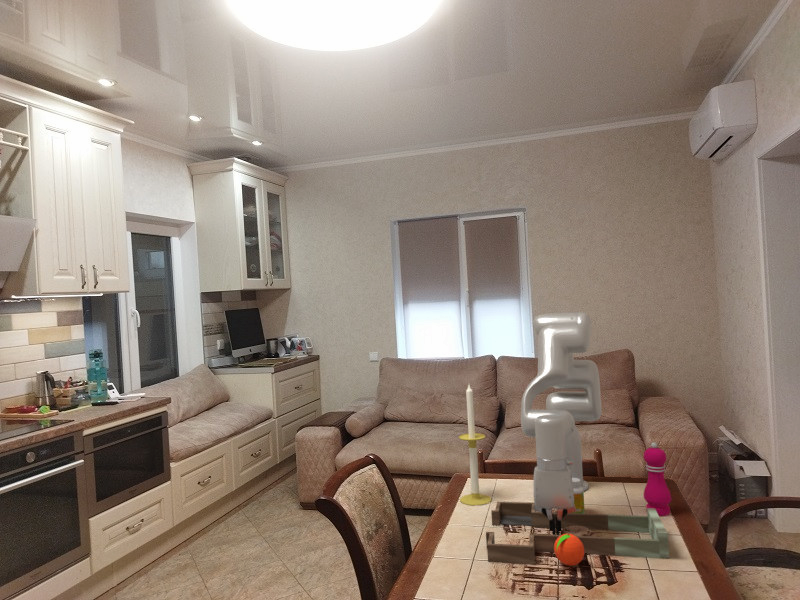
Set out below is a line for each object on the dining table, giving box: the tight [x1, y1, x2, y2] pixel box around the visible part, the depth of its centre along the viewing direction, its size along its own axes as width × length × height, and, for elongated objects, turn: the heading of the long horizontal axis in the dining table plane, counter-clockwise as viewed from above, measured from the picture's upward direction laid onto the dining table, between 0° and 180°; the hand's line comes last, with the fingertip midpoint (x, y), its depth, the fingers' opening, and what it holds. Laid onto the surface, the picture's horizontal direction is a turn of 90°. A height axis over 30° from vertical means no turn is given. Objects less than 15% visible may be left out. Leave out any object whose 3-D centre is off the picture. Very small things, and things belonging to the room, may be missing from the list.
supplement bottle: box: [572, 478, 586, 514], centre depth 164 cm, size 5×5×10 cm
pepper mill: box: [643, 441, 672, 517], centre depth 161 cm, size 7×7×20 cm
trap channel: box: [485, 501, 670, 565], centre depth 146 cm, size 30×43×6 cm
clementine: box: [553, 534, 585, 567], centre depth 133 cm, size 8×7×7 cm
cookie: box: [559, 526, 601, 537], centre depth 145 cm, size 10×11×3 cm
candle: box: [458, 384, 492, 507], centre depth 179 cm, size 10×10×38 cm
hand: (555, 533), depth 147 cm, fingers closed
